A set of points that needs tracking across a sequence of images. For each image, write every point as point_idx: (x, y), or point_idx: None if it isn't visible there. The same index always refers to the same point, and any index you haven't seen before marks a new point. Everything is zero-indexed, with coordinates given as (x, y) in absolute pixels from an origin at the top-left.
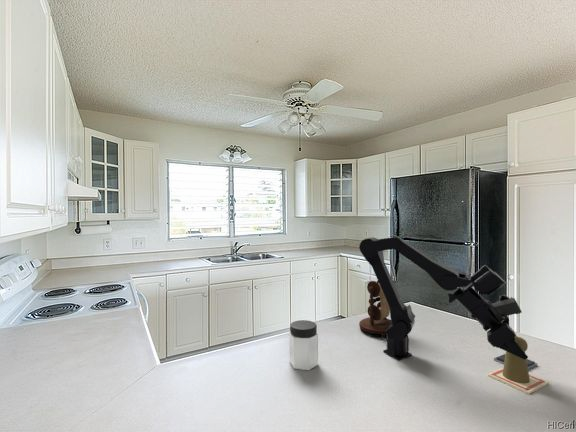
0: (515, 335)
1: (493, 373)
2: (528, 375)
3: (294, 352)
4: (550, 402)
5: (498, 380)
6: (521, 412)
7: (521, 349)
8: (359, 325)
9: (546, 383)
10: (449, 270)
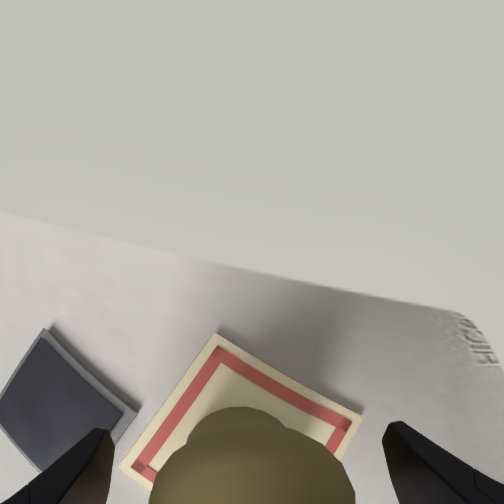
0: (73, 484)
1: None
2: (257, 413)
3: None
4: (378, 351)
5: None
6: (476, 423)
7: (454, 458)
8: None
9: (231, 343)
10: None
